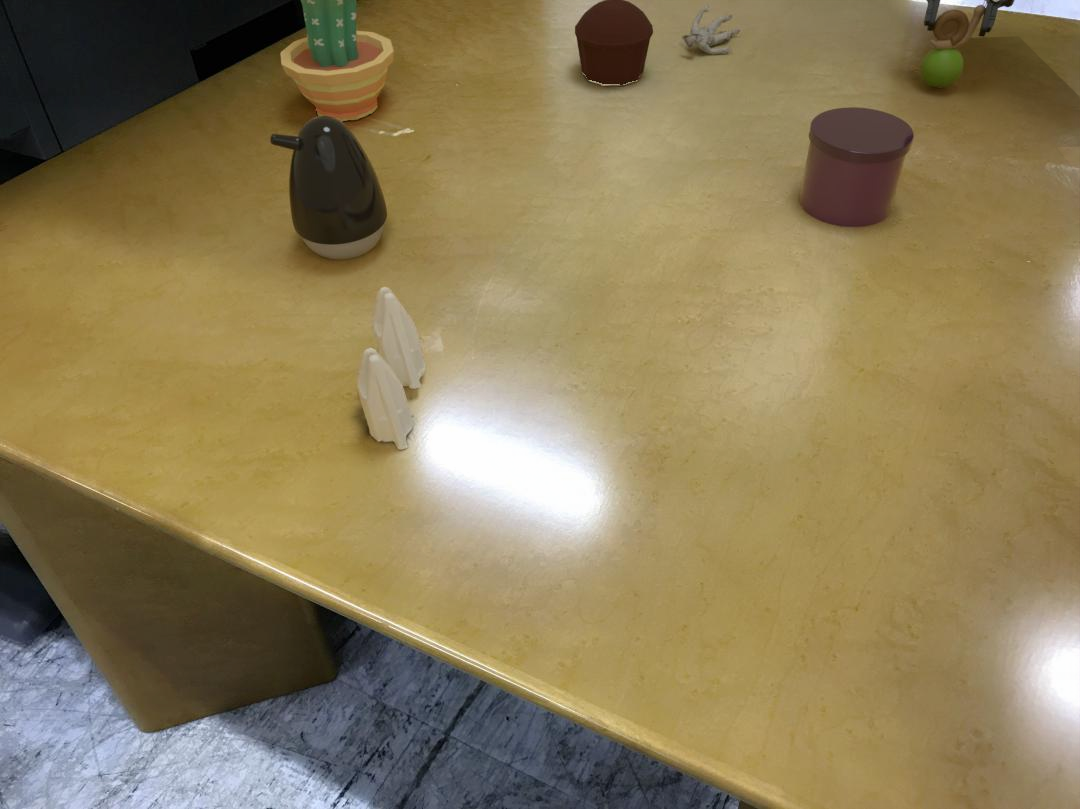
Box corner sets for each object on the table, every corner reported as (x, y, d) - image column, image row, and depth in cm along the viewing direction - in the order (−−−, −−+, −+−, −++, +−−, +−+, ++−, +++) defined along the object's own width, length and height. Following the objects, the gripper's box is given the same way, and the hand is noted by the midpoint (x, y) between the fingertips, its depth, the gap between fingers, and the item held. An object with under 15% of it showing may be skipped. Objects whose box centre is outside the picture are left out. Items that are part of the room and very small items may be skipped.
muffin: (575, 58, 137) (575, -10, 130) (648, 57, 136) (652, -11, 130) (574, 92, 128) (574, 20, 121) (652, 91, 128) (656, 19, 121)
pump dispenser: (292, 232, 103) (261, 106, 93) (381, 215, 105) (360, 89, 95) (305, 281, 96) (273, 150, 86) (400, 261, 98) (380, 131, 88)
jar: (883, 195, 106) (907, 109, 98) (894, 245, 98) (920, 156, 91) (791, 190, 107) (807, 104, 100) (795, 239, 100) (813, 150, 92)
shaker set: (389, 358, 86) (371, 262, 79) (432, 360, 86) (418, 264, 78) (361, 448, 78) (337, 350, 70) (408, 450, 77) (390, 352, 70)
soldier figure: (750, 47, 141) (722, 48, 131) (724, 65, 144) (695, 67, 134) (726, 2, 141) (697, 0, 131) (701, 21, 144) (671, 21, 134)
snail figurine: (970, 93, 124) (996, 3, 116) (923, 95, 124) (946, 5, 116) (956, 76, 128) (981, -12, 120) (911, 78, 128) (933, -10, 120)
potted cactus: (408, 83, 132) (383, -107, 115) (393, 132, 121) (364, -71, 104) (304, 85, 132) (264, -104, 115) (280, 133, 121) (232, -68, 104)
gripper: (933, -114, 117) (902, 12, 118) (1053, -106, 113) (1021, 24, 113) (926, -81, 125) (897, 37, 125) (1038, -73, 120) (1008, 49, 121)
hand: (956, 30), depth 119 cm, fingers closed on snail figurine, 6 cm apart
